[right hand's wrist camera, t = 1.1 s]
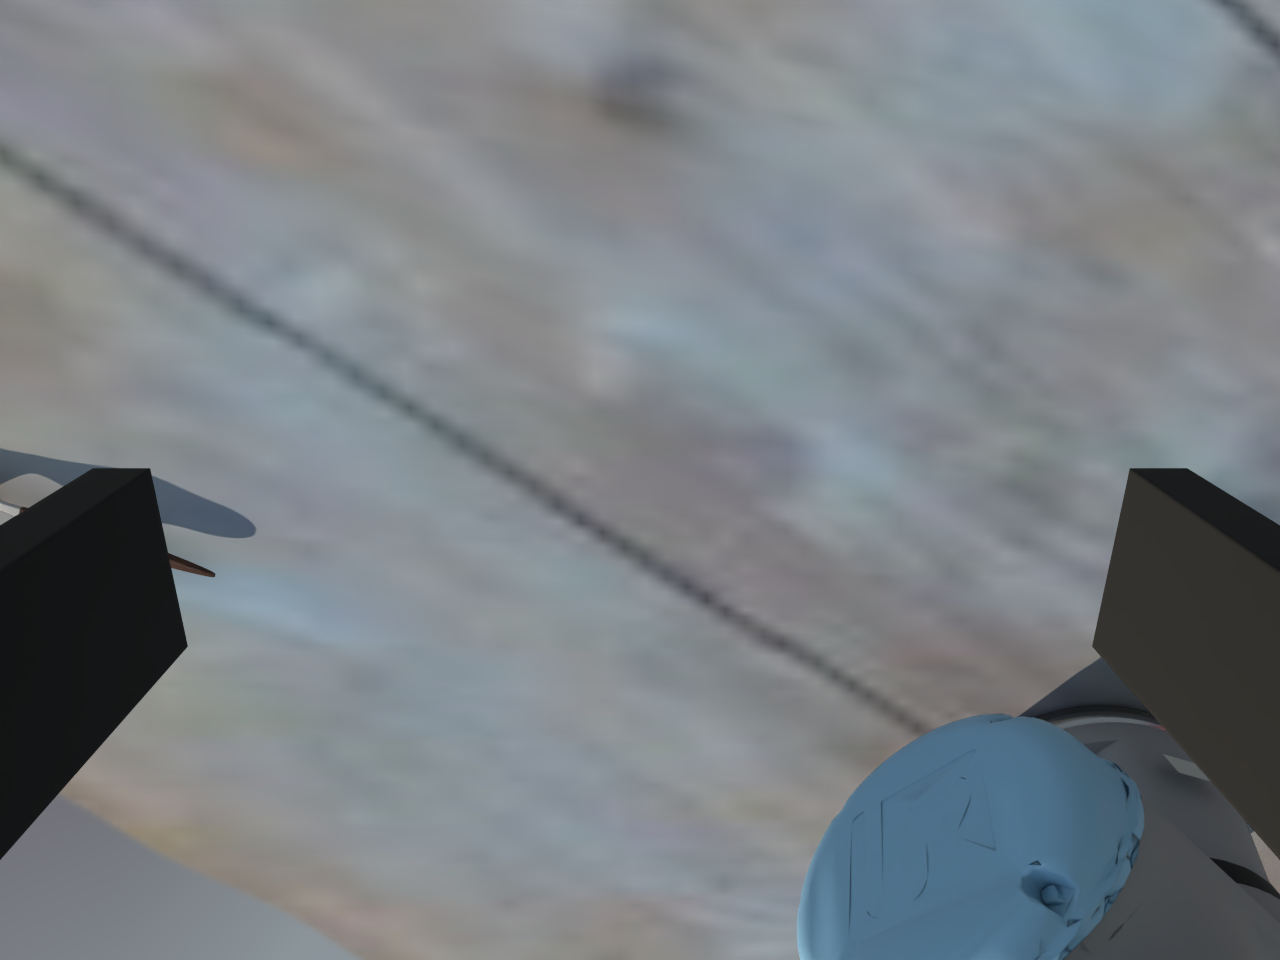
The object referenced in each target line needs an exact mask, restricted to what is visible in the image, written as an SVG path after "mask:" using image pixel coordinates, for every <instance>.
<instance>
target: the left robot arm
mask: <svg viewBox="0 0 1280 960" xmlns="http://www.w3.org/2000/svg"><path fill="white" fill-rule="evenodd" d="M797 943H798V951H799V956H800V960H1280V894H1279V893H1278V892H1277V891H1276V889H1275V888H1274V887H1273V886H1272V885H1271V883H1270V882H1269V880H1268V878H1267V875H1266V873H1265V870H1264V867H1263V865H1262V862H1261V859H1260V857H1259V854H1258V851H1257V849H1256V846H1255V844H1254V841H1253V839H1252V836H1251V834H1250V832H1249V829H1248V827H1247V824H1246V822H1245V820H1244V819H1243V817H1242V816H1241V815H1240V814H1239V813H1238V812H1237V811H1236V809H1235V808H1234V807H1233V806H1232V805H1231V804H1230V803H1229V801H1228V800H1227V799H1226V798H1225V797H1224V796H1223V795H1222V794H1221V792H1220V791H1219V790H1218V789H1217V788H1216V787H1215V786H1214V784H1213V783H1212V782H1211V781H1210V780H1209V779H1208V778H1207V776H1206V775H1205V774H1204V773H1203V772H1202V771H1201V770H1200V768H1199V767H1198V766H1197V765H1196V764H1195V763H1194V762H1193V760H1192V759H1191V758H1190V757H1189V756H1188V755H1187V754H1186V753H1185V751H1184V750H1183V749H1182V748H1181V747H1180V746H1179V745H1178V743H1177V742H1176V741H1175V740H1174V739H1173V738H1172V737H1171V735H1170V734H1169V733H1168V732H1167V731H1166V730H1165V729H1164V727H1163V726H1162V725H1161V724H1160V723H1159V722H1158V721H1157V720H1156V718H1155V717H1154V716H1153V715H1152V714H1149V713H1146V712H1142V711H1139V710H1135V709H1129V708H1123V707H1112V706H1089V707H1078V708H1072V709H1066V710H1061V711H1057V712H1053V713H1049V714H1046V715H1043V716H1040V717H1037V718H1034V717H1032V718H1031V717H1025V716H1020V717H1015V718H1013V717H1011V716H1010V715H1005V714H987V715H979V716H973V717H969V718H965V719H961V720H958V721H955V722H952V723H949V724H946V725H944V726H941V727H939V728H937V729H934V730H932V731H930V732H928V733H926V734H925V735H923V736H921V737H919V738H918V739H916V740H914V741H913V742H911V743H909V744H908V745H906V746H905V747H903V748H902V749H900V750H899V751H898V752H896V753H895V754H893V755H892V756H891V757H889V758H888V759H887V760H886V761H884V762H883V763H882V764H881V765H880V766H879V767H878V768H877V769H875V770H874V771H873V772H872V773H871V774H870V775H869V776H868V777H867V778H866V779H865V780H864V781H863V782H862V783H861V785H860V786H859V787H858V788H857V789H856V790H855V791H854V793H853V794H852V795H851V796H850V797H849V799H848V801H847V802H846V804H845V806H844V807H843V809H842V811H841V812H840V813H839V814H838V815H837V816H836V817H835V819H834V820H833V821H832V822H831V824H830V825H829V827H828V829H827V830H826V832H825V834H824V836H823V838H822V840H821V842H820V844H819V846H818V847H817V850H816V852H815V854H814V856H813V859H812V861H811V864H810V866H809V869H808V872H807V875H806V878H805V881H804V885H803V888H802V894H801V900H800V905H799V909H798V918H797Z"/></svg>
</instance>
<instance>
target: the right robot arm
mask: <svg viewBox="0 0 1280 960" xmlns="http://www.w3.org/2000/svg"><path fill="white" fill-rule="evenodd" d="M187 647H188V646H187V641H186V636H185V631H184V627H183V622H182V617H181V612H180V608H179V603H178V598H177V594H176V589H175V584H174V579H173V575H172V570H171V565H170V560H169V556H168V551H167V546H166V542H165V537H164V532H163V527H162V523H161V518H160V513H159V508H158V504H157V499H156V494H155V489H154V485H153V480H152V475H151V471H150V468H93V469H91V470H90V471H88V472H86V473H85V474H83V475H81V476H80V477H78V478H77V479H75V480H73V481H72V482H70V483H68V484H67V485H65V486H64V487H62V488H60V489H59V490H57V491H55V492H54V493H52V494H51V495H49V496H47V497H46V498H44V499H42V500H41V501H39V502H38V503H36V504H34V505H33V506H31V507H29V508H28V509H26V510H25V511H23V512H21V513H20V514H18V515H16V516H15V517H13V518H12V519H10V520H8V521H7V522H5V523H3V524H2V525H0V860H1V858H2V857H3V856H4V855H5V854H6V853H7V852H8V850H9V849H10V848H11V847H12V846H13V845H14V844H15V842H16V841H17V840H18V839H19V838H20V837H21V836H22V835H23V833H24V832H25V831H26V830H27V829H28V828H29V827H30V825H31V824H32V823H33V822H34V821H35V820H36V819H37V817H38V816H39V815H40V814H41V813H42V812H43V811H44V809H45V808H46V807H47V806H48V805H49V804H50V803H51V801H52V800H53V799H54V798H55V797H56V796H57V795H58V794H59V792H60V791H61V790H62V789H63V788H64V787H65V786H66V784H67V783H68V782H69V781H70V780H71V779H72V778H73V776H74V775H75V774H76V773H77V772H78V771H79V770H80V768H81V767H82V766H83V765H84V764H85V763H86V762H87V760H88V759H89V758H90V757H91V756H92V755H93V754H94V753H95V751H96V750H97V749H98V748H99V747H100V746H101V745H102V743H103V742H104V741H105V740H106V739H107V738H108V737H109V735H110V734H111V733H112V732H113V731H114V730H115V729H116V727H117V726H118V725H119V724H120V723H121V722H122V721H123V720H124V718H125V717H126V716H127V715H128V714H129V713H130V712H131V710H132V709H133V708H134V707H135V706H136V705H137V704H138V702H139V701H140V700H141V699H142V698H143V697H144V696H145V694H146V693H147V692H148V691H149V690H150V689H151V688H152V686H153V685H154V684H155V683H156V682H157V681H158V680H159V679H160V677H161V676H162V675H163V674H164V673H165V672H166V671H167V669H168V668H169V667H170V666H171V665H172V664H173V663H174V661H175V660H176V659H177V658H178V657H179V656H180V655H181V653H182V652H183V651H184V650H185V649H186V648H187ZM1092 647H1093V648H1094V649H1095V650H1096V651H1097V652H1098V653H1099V655H1100V656H1101V657H1102V658H1103V659H1104V660H1105V661H1106V663H1107V664H1108V665H1109V666H1110V667H1111V668H1112V669H1113V671H1114V672H1115V673H1116V674H1117V675H1118V676H1119V677H1120V679H1121V680H1122V681H1123V682H1124V683H1125V684H1126V685H1127V686H1128V688H1129V689H1130V690H1131V691H1132V692H1133V693H1134V694H1135V696H1136V697H1137V698H1138V699H1139V700H1140V701H1141V702H1142V704H1143V705H1144V706H1145V707H1146V708H1147V709H1148V710H1149V712H1150V713H1151V714H1152V715H1153V716H1154V717H1155V718H1156V720H1157V721H1158V722H1159V723H1160V724H1161V725H1162V726H1163V727H1164V729H1165V730H1166V731H1167V732H1168V733H1169V734H1170V735H1171V737H1172V738H1173V739H1174V740H1175V741H1176V742H1177V743H1178V745H1179V746H1180V747H1181V748H1182V749H1183V750H1184V751H1185V753H1186V754H1187V755H1188V756H1189V757H1190V758H1191V759H1192V760H1193V762H1194V763H1195V764H1196V765H1197V766H1198V767H1199V768H1200V770H1201V771H1202V772H1203V773H1204V774H1205V775H1206V776H1207V778H1208V779H1209V780H1210V781H1211V782H1212V783H1213V784H1214V786H1215V787H1216V788H1217V789H1218V790H1219V791H1220V792H1221V794H1222V795H1223V796H1224V797H1225V798H1226V799H1227V800H1228V801H1229V803H1230V804H1231V805H1232V806H1233V807H1234V808H1235V809H1236V811H1237V812H1238V813H1239V814H1240V815H1241V816H1242V817H1243V819H1244V820H1245V821H1246V822H1247V823H1248V824H1249V825H1250V827H1251V828H1252V829H1253V830H1254V831H1255V832H1256V833H1257V835H1258V836H1259V837H1260V838H1261V839H1262V840H1263V841H1264V842H1265V844H1266V845H1267V846H1268V847H1269V848H1270V849H1271V850H1272V852H1273V853H1274V854H1275V855H1276V856H1277V857H1278V858H1279V860H1280V525H1278V524H1277V523H1275V522H1273V521H1272V520H1270V519H1268V518H1267V517H1265V516H1264V515H1262V514H1260V513H1259V512H1257V511H1255V510H1254V509H1252V508H1251V507H1249V506H1247V505H1246V504H1244V503H1242V502H1241V501H1239V500H1238V499H1236V498H1234V497H1233V496H1231V495H1229V494H1228V493H1226V492H1225V491H1223V490H1221V489H1220V488H1218V487H1216V486H1215V485H1213V484H1212V483H1210V482H1208V481H1207V480H1205V479H1203V478H1202V477H1200V476H1199V475H1197V474H1195V473H1194V472H1192V471H1190V470H1189V469H1187V468H1130V471H1129V475H1128V480H1127V485H1126V489H1125V494H1124V499H1123V504H1122V508H1121V513H1120V518H1119V523H1118V527H1117V532H1116V537H1115V542H1114V546H1113V551H1112V556H1111V560H1110V565H1109V570H1108V575H1107V579H1106V584H1105V589H1104V594H1103V598H1102V603H1101V608H1100V612H1099V617H1098V622H1097V627H1096V631H1095V636H1094V641H1093V646H1092Z"/></svg>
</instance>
